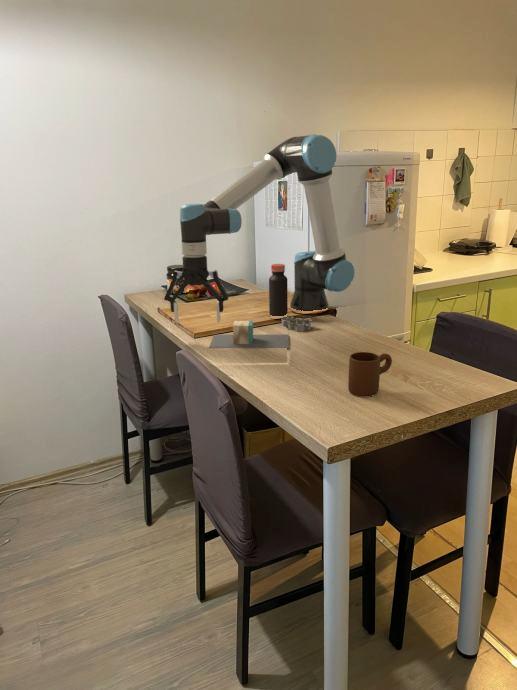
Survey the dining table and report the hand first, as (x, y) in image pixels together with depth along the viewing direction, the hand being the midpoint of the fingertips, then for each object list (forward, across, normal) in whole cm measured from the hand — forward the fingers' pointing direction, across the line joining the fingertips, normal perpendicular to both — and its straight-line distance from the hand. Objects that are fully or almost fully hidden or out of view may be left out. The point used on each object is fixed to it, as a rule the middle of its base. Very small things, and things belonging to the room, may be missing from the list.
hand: (197, 321), depth 175 cm
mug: (+7, +50, -39) cm, 63 cm away
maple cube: (+4, +12, 0) cm, 12 cm away
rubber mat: (+7, +17, 0) cm, 18 cm away
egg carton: (+7, +32, +17) cm, 37 cm away
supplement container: (+7, -20, +75) cm, 78 cm away
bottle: (+7, +26, +30) cm, 40 cm away
